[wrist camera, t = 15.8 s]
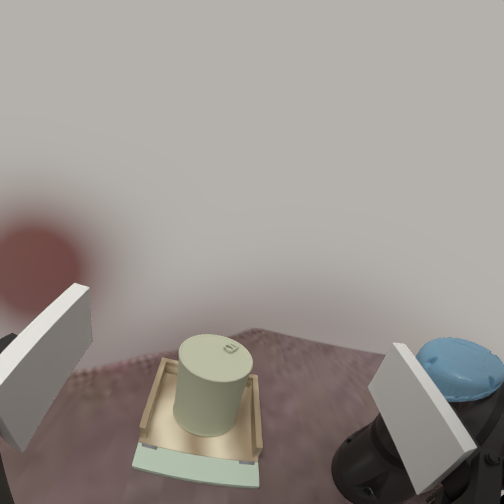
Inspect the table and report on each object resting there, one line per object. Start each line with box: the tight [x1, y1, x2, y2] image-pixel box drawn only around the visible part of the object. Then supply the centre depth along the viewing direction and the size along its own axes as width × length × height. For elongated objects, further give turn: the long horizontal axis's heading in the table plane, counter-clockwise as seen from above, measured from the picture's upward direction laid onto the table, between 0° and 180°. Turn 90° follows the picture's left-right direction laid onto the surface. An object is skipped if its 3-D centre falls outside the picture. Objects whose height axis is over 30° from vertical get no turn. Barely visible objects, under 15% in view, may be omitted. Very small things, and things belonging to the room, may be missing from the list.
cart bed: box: [139, 357, 263, 462], centre depth 37 cm, size 16×16×4 cm
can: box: [173, 334, 253, 437], centre depth 35 cm, size 9×9×12 cm
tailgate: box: [132, 442, 259, 489], centre depth 28 cm, size 16×4×1 cm, turn 92°
